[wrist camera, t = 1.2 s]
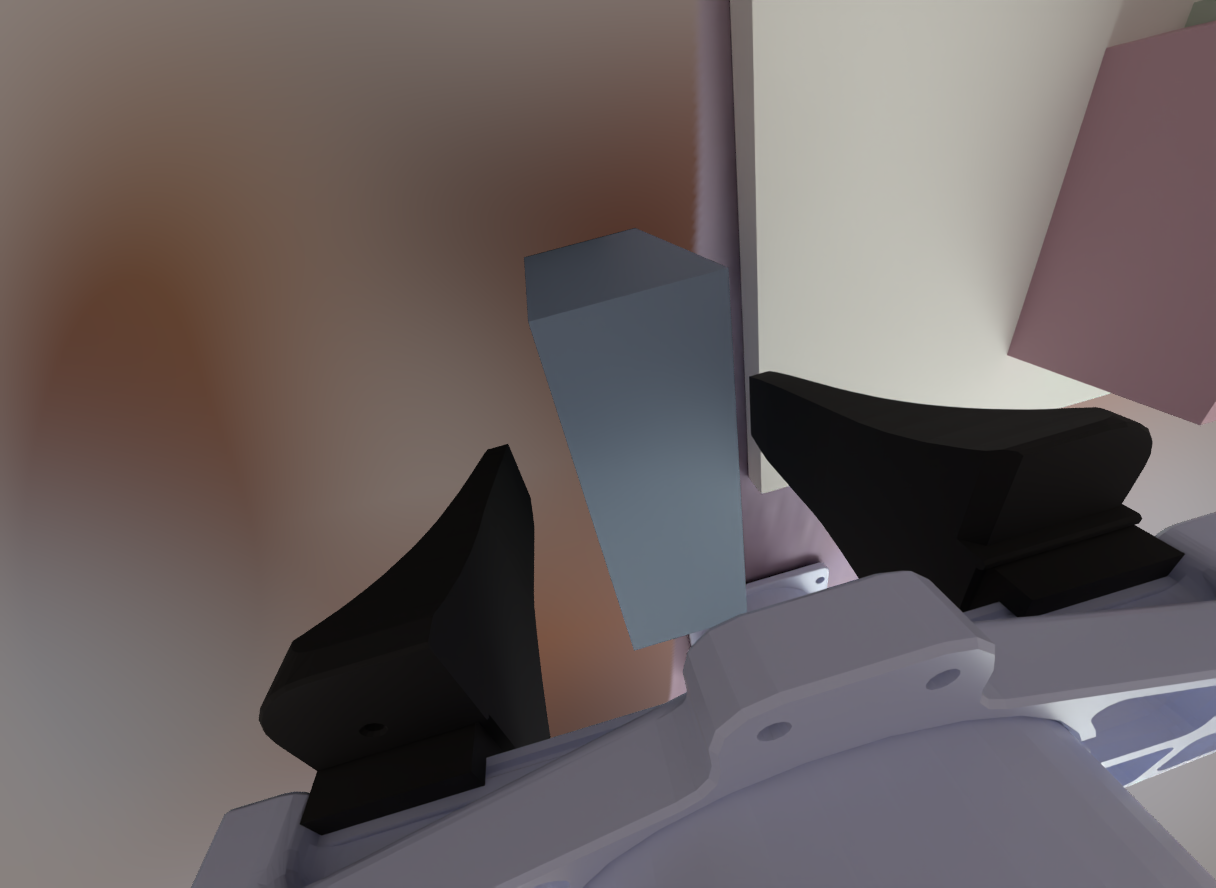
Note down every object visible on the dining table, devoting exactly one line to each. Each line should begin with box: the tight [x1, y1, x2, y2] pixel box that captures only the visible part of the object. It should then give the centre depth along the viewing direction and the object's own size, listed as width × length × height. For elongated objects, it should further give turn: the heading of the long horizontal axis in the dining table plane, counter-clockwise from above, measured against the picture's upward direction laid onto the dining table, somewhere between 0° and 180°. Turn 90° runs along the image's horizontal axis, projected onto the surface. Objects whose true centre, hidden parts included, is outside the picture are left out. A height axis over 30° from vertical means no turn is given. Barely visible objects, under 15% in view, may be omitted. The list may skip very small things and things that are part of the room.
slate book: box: [524, 228, 747, 650], centre depth 13 cm, size 10×4×7 cm, turn 12°
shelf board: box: [730, 0, 1202, 494], centre depth 15 cm, size 16×16×1 cm
